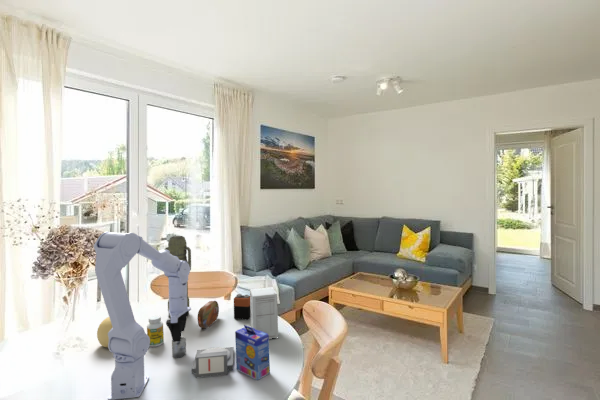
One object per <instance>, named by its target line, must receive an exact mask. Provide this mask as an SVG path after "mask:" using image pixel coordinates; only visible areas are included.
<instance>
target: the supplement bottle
mask: <svg viewBox="0 0 600 400" xmlns="http://www.w3.org/2000/svg"><path fill="white" fill-rule="evenodd" d="M161 320H162V317H161V315H152V316H150V317H148V324H147V326H146V334H147V335H148V336H149V338H150V346H149V348H150V347H152V348H155V347H159V346H161V345H163V343H164V341H165V339H164V323H163V321H161Z"/></svg>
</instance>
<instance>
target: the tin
mask: <svg viewBox="0 0 600 400" xmlns="http://www.w3.org/2000/svg"><path fill="white" fill-rule="evenodd" d="M219 306H220V305H219V303H218V301H217V300H209V301H208V302H206V303H205V304H204V305H203V306H201V307H200V309H199V310H198V312H197V326H198V327H199V328H201V329H208V328H210V327H211V326H212V324H214V323H215V322H216V321H217V319H218V317H219V312H220V308H219Z"/></svg>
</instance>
